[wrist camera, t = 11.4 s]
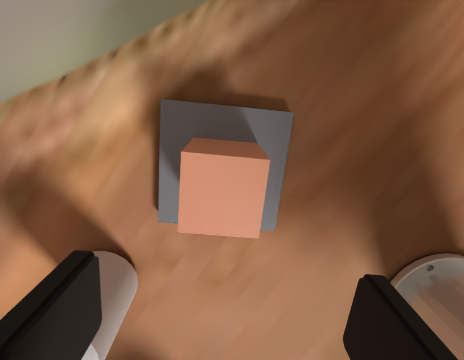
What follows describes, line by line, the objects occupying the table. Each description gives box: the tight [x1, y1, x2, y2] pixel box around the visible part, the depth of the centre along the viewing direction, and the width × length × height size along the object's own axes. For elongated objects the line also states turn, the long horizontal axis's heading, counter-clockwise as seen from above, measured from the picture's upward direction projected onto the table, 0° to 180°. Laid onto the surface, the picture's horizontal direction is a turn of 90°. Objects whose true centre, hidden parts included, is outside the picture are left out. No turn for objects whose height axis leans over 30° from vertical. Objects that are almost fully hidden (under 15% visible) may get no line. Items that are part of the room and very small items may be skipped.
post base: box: [158, 99, 294, 231], centre depth 23 cm, size 12×12×6 cm
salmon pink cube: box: [178, 137, 270, 238], centre depth 22 cm, size 6×6×7 cm
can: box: [82, 251, 138, 360], centre depth 24 cm, size 8×8×12 cm
